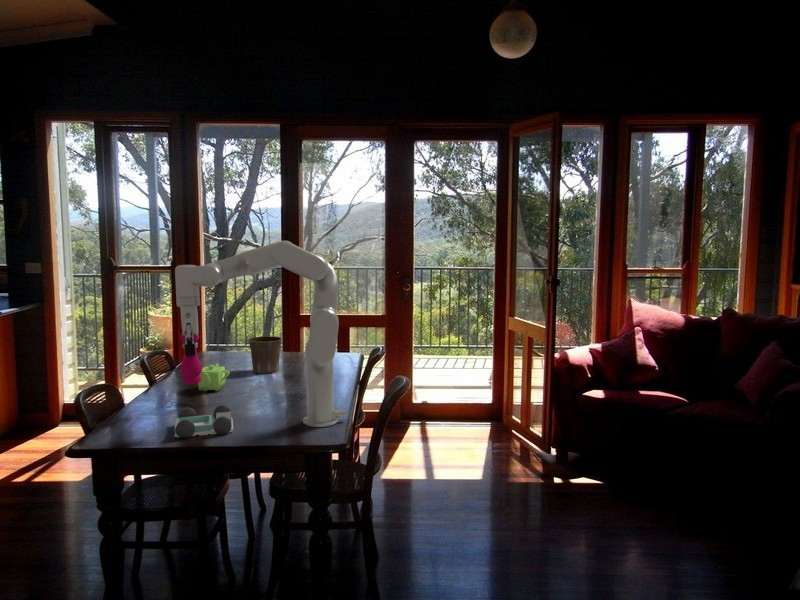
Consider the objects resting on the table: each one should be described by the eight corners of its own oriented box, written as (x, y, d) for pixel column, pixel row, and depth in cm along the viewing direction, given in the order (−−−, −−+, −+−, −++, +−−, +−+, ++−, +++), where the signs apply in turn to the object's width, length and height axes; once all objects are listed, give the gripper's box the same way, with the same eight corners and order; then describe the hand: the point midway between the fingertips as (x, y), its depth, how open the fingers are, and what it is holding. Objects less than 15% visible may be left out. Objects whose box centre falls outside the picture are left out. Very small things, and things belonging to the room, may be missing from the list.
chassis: (232, 419, 230) (231, 403, 229) (233, 433, 214) (232, 416, 214) (177, 424, 225) (176, 408, 224) (174, 439, 209) (173, 421, 209)
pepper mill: (181, 385, 212) (178, 326, 210) (179, 380, 219) (177, 323, 216) (204, 383, 215) (201, 325, 212) (201, 378, 221) (199, 322, 219)
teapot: (205, 395, 264) (204, 370, 262) (188, 390, 272) (186, 366, 271) (236, 388, 275) (235, 364, 274) (218, 383, 284) (217, 360, 283)
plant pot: (287, 367, 314) (286, 336, 313) (277, 375, 298) (276, 341, 297) (255, 367, 316) (254, 335, 314) (244, 374, 300) (243, 341, 298)
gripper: (199, 303, 206) (201, 358, 208) (200, 298, 223) (202, 348, 225) (174, 304, 204) (177, 359, 206) (178, 299, 221) (180, 350, 223)
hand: (190, 353), depth 216 cm, fingers closed on pepper mill, 5 cm apart
